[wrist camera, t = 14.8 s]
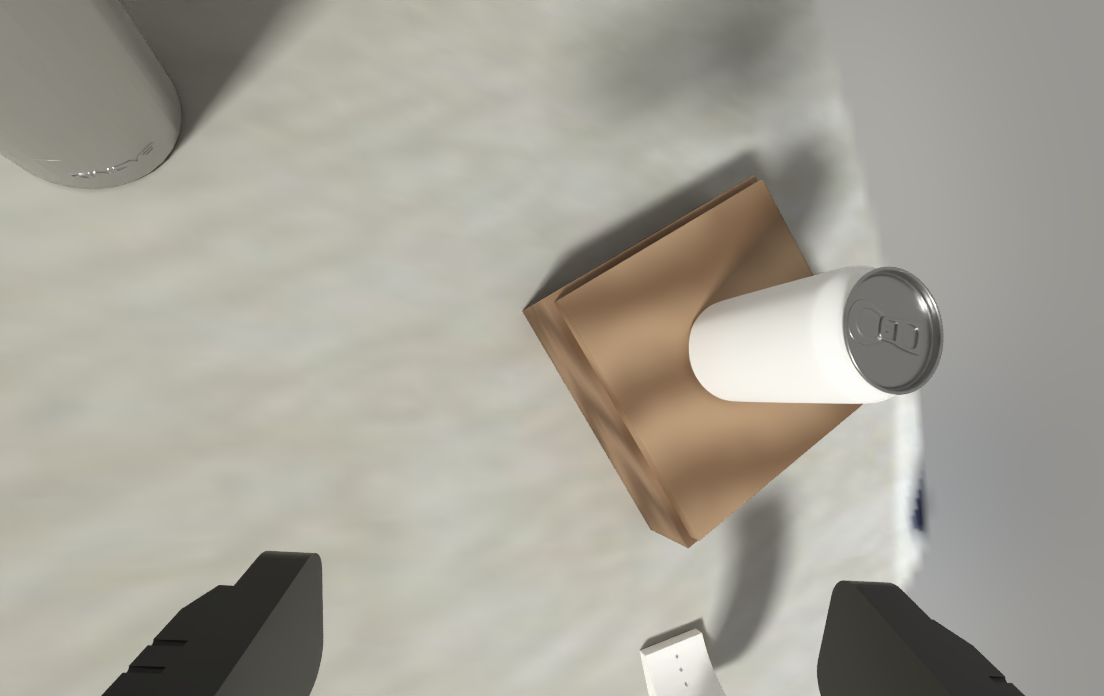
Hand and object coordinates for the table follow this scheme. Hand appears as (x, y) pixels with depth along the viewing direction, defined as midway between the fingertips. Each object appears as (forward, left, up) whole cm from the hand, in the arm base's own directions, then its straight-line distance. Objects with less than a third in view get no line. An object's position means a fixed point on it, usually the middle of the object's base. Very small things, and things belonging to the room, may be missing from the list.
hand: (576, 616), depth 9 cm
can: (+4, +19, -22) cm, 29 cm away
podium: (+5, +19, -28) cm, 34 cm away
